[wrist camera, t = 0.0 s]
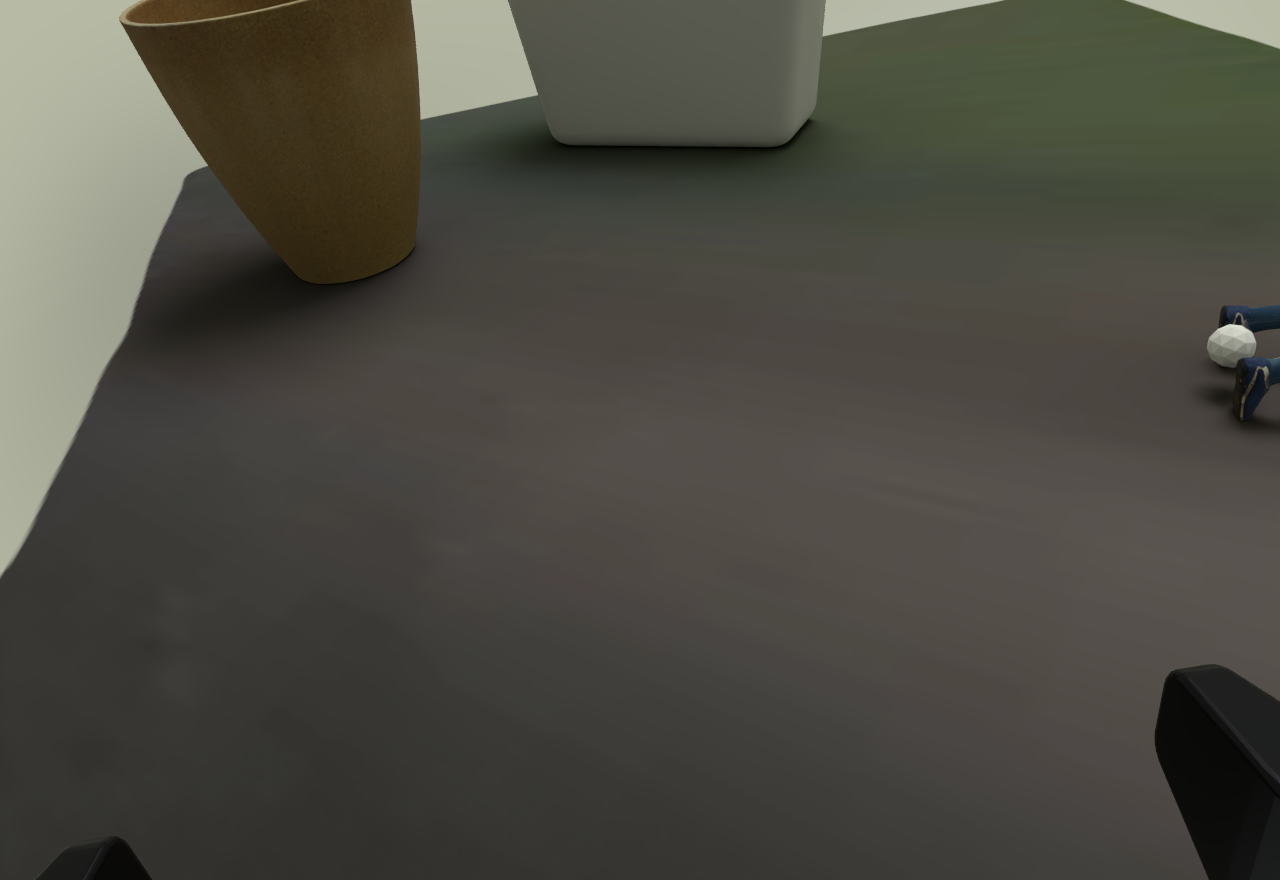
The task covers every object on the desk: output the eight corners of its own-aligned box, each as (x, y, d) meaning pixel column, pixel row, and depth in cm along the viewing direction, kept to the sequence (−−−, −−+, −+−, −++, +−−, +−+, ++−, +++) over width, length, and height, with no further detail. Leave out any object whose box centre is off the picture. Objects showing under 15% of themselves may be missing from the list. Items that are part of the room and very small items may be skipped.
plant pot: (253, 235, 70) (158, -20, 61) (474, 194, 70) (411, -65, 61) (205, 338, 58) (77, 37, 49) (473, 288, 58) (394, -20, 49)
